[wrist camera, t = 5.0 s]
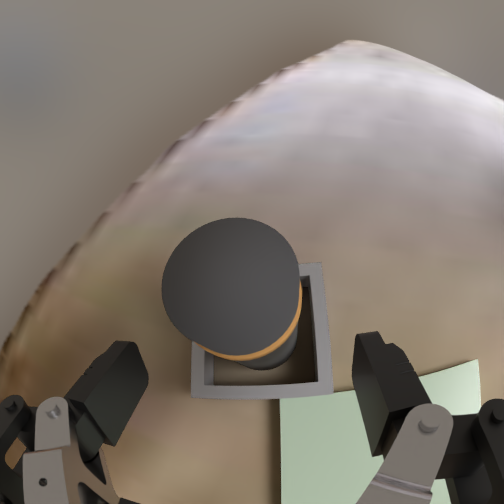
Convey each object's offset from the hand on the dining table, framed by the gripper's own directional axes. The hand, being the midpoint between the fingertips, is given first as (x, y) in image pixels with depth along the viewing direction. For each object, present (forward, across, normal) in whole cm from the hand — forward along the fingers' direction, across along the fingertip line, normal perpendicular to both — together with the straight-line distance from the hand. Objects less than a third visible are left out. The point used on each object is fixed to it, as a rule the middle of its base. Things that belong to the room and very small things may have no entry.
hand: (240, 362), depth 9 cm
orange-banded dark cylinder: (+7, 0, +4) cm, 8 cm away
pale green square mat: (0, -8, +12) cm, 14 cm away
